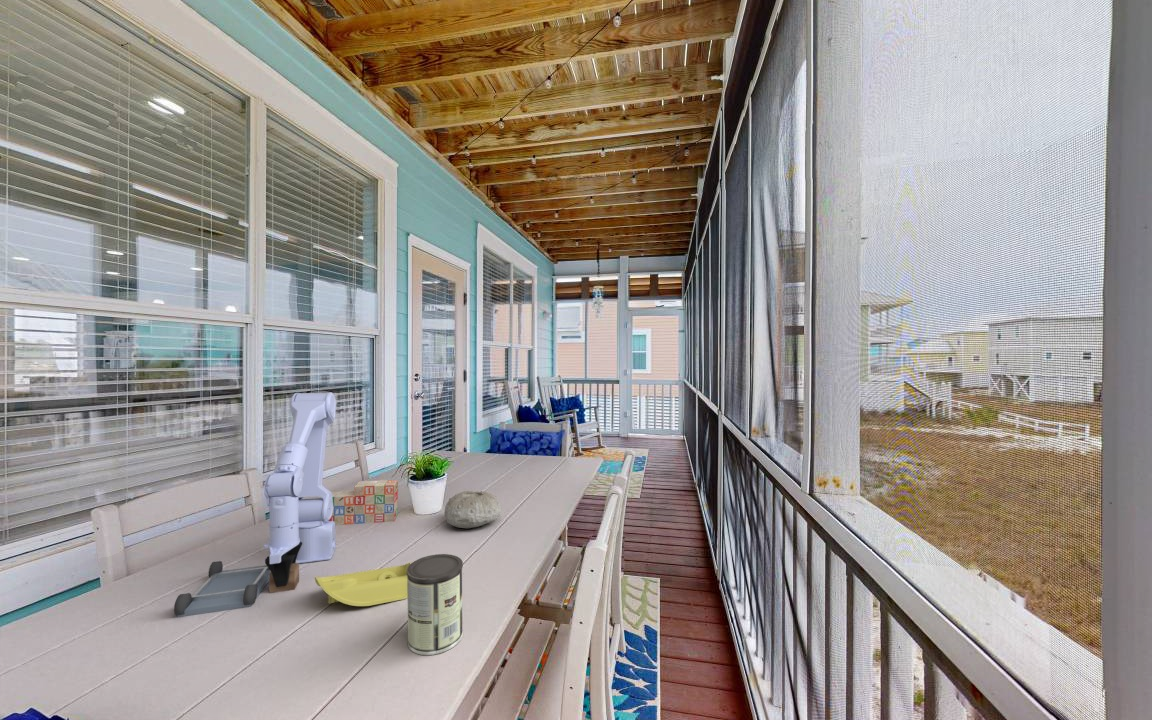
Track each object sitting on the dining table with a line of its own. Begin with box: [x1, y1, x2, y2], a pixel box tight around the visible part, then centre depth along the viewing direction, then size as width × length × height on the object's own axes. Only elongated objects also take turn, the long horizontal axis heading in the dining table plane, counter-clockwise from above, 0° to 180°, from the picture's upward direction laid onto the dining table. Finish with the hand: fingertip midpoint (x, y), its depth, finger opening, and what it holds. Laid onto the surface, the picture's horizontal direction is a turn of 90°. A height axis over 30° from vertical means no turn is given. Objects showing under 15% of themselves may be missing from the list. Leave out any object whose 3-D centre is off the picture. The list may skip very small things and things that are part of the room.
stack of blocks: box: [328, 479, 399, 526], centre depth 148 cm, size 21×6×12 cm, turn 101°
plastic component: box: [314, 562, 412, 607], centre depth 101 cm, size 20×7×10 cm
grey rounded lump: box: [443, 490, 502, 529], centre depth 145 cm, size 18×18×10 cm
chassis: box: [173, 560, 271, 618], centre depth 104 cm, size 13×20×4 cm
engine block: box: [268, 563, 300, 594], centre depth 105 cm, size 5×4×4 cm
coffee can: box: [407, 553, 464, 656], centre depth 86 cm, size 10×10×14 cm
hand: (284, 581), depth 105 cm, fingers closed on engine block, 4 cm apart
